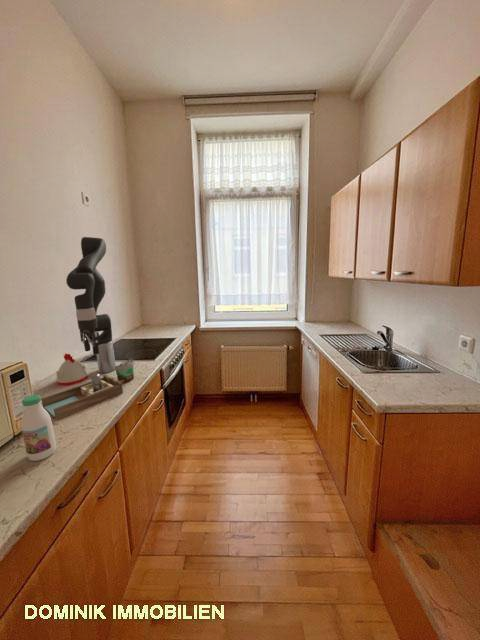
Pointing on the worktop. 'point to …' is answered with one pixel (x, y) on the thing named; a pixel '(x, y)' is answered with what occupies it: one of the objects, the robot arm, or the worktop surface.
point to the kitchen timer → (71, 372)
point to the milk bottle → (37, 429)
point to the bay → (79, 398)
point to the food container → (125, 371)
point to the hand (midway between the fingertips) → (92, 352)
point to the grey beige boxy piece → (95, 385)
